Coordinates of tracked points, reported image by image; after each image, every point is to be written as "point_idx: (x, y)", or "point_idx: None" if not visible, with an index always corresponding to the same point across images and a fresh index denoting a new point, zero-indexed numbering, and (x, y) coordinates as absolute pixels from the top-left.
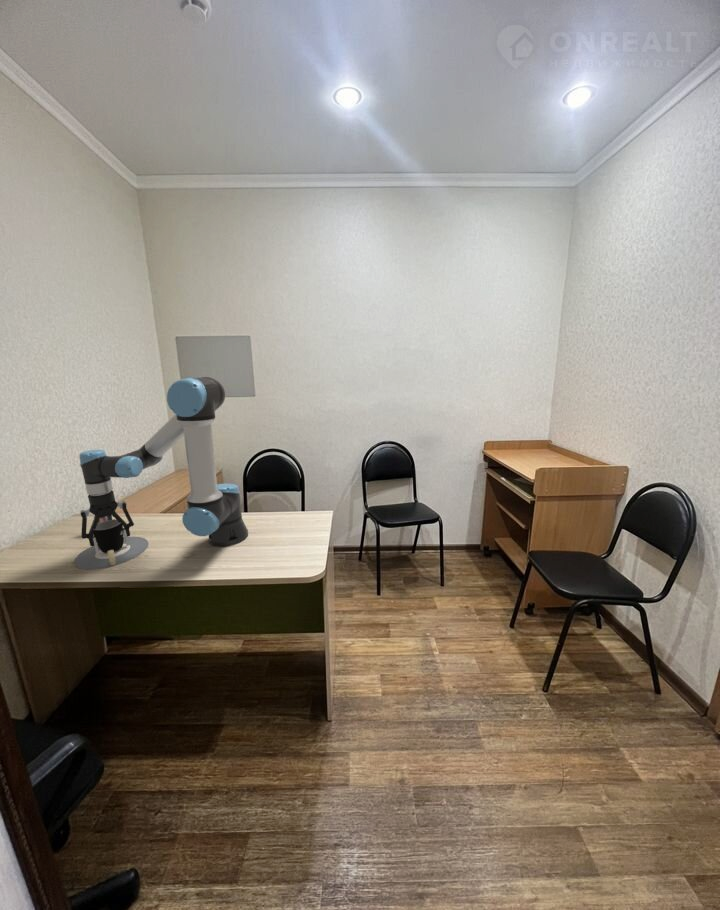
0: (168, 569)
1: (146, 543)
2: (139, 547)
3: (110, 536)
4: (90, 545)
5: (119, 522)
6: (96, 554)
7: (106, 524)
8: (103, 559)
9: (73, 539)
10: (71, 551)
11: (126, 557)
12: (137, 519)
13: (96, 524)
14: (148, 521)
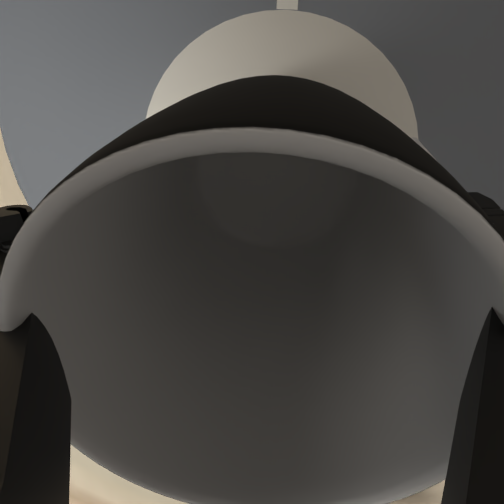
0: None
1: (13, 128)
2: (60, 77)
3: (250, 81)
4: (487, 199)
5: (26, 332)
6: None
7: (271, 449)
8: (373, 23)
9: (440, 488)
10: None
11: None
12: (144, 500)
13: (494, 427)
14: (87, 458)
